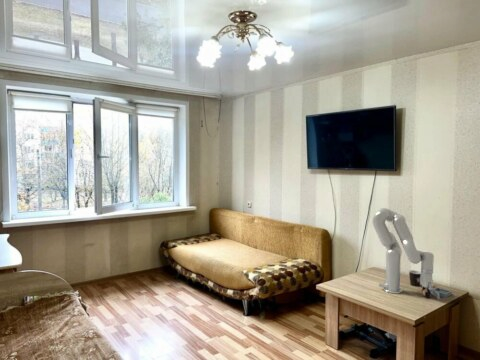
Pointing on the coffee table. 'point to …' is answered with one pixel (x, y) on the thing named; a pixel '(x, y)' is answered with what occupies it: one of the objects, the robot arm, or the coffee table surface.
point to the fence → (435, 293)
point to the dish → (443, 292)
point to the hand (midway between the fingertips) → (426, 295)
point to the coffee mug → (414, 278)
